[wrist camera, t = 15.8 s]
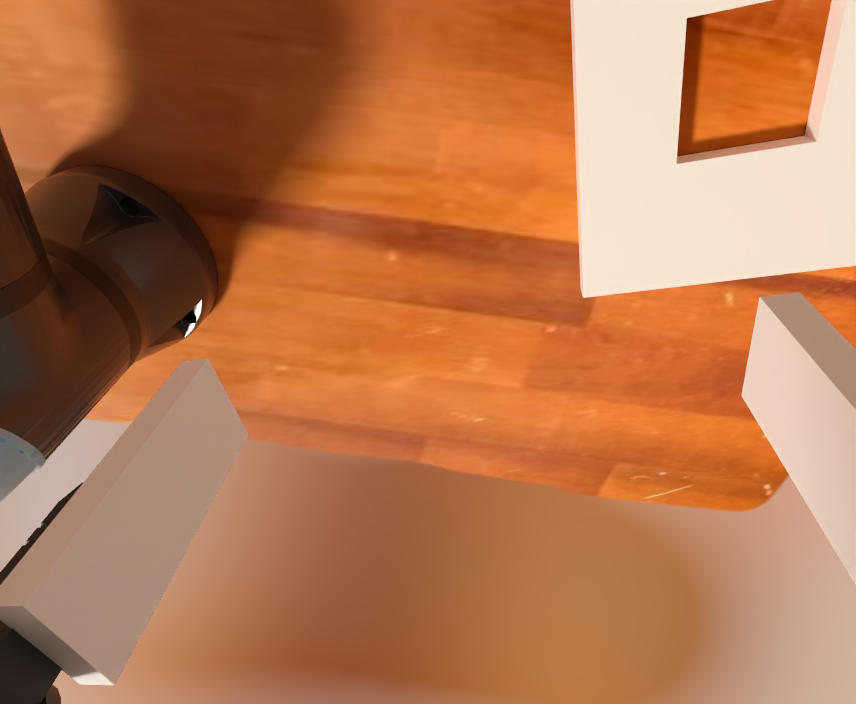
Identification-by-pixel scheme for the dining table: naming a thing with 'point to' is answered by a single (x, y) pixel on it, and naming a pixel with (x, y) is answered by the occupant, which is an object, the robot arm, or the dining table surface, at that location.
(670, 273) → the hole board
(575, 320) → the dining table surface
